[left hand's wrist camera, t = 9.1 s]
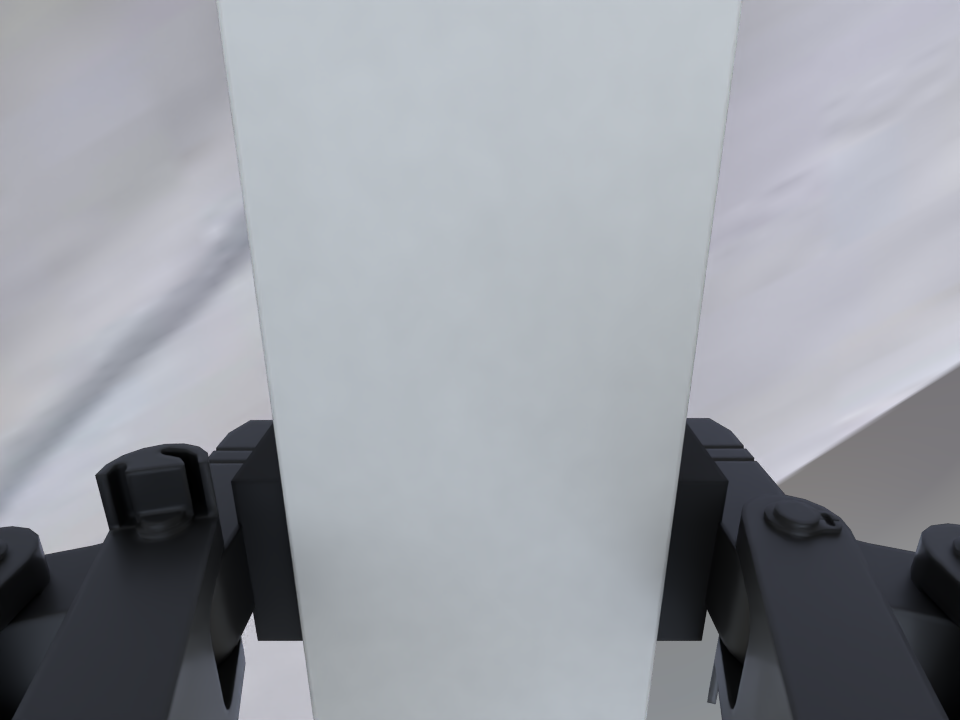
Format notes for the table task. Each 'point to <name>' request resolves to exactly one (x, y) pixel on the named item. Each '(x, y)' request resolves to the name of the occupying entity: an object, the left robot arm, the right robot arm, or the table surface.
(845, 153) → the table surface
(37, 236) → the table surface
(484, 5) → the post
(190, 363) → the table surface
